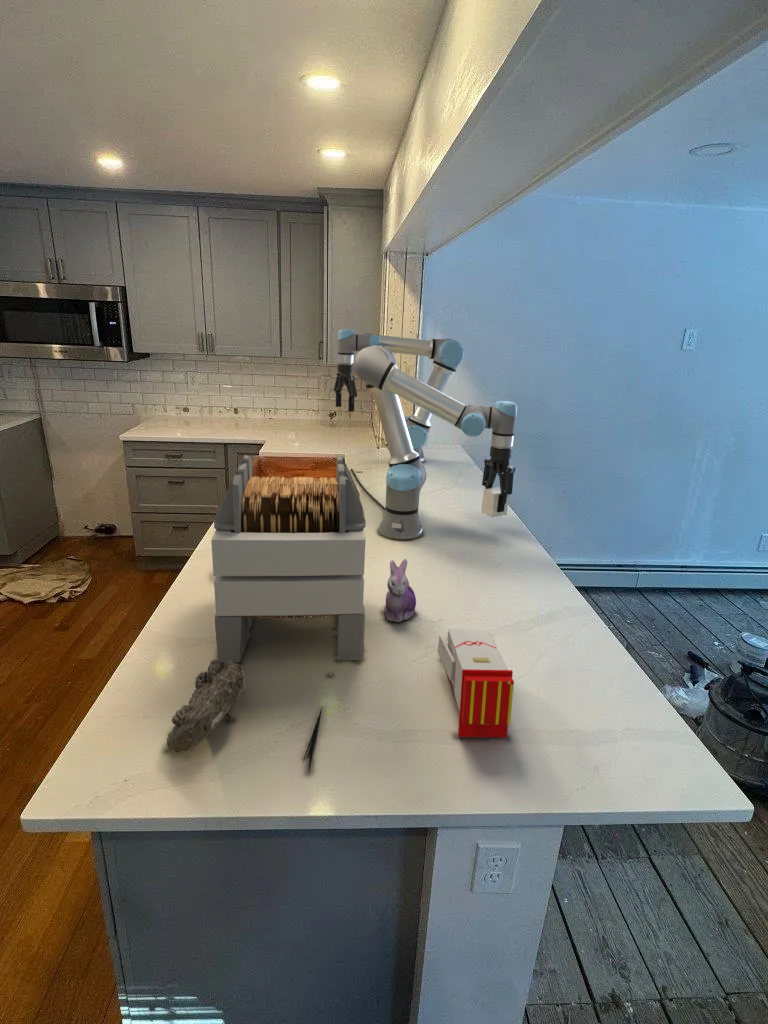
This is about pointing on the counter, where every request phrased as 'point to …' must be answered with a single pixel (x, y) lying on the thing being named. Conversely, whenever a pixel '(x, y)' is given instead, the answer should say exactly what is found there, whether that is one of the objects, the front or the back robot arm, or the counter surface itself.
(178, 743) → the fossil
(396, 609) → the figurine
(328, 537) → the record storage crate
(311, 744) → the feather
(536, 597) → the counter surface
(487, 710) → the toy
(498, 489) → the block
